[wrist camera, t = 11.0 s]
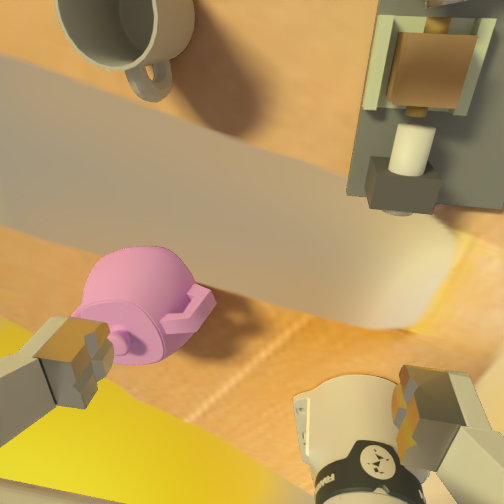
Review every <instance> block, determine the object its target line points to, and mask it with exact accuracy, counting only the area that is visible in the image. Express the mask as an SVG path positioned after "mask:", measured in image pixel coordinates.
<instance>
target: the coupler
mask: <svg viewBox="0 0 504 504" xmlns="http://www.w3.org/2000/svg"><path fill="white" fill-rule="evenodd" d="M450 22H451V17H427V19H426V23H425V28H424V32H423V33H410V32H398V36H397V41H396V46H395V51H394V56H393V61H392V66H391V71H390V76H389V81H388V86H387V91H386V97H387V98H388V99H389V100H390V101H391V103H392V104H393V105H401V106H406V110H405V115H407V116H411V117H426V114H427V110H428V107H433V108H450V109H457V105H458V102H459V99H460V95H461V92H462V89H463V85H464V82H465V78H466V75H467V72H468V68H469V65H470V62H471V58H472V55H473V52H474V48H475V45H476V41H477V38H478V36H476V35H460V34H447V33H448V29H449V25H450Z"/></svg>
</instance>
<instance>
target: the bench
mask: <svg viewBox="0 0 504 504" xmlns="http://www.w3.org/2000/svg"><path fill="white" fill-rule="evenodd" d="M427 17H451V22H450V25H449V29H448V33H447V34H460V35H476V36H478V38H477V41H476V45H475V48H474V52H473V55H472V58H471V62H470V65H469V68H468V72H467V75H466V78H465V82H464V85H463V89H462V92H461V95H460V99H459V102H458V105H457V109H450V108H433V107H428V110H427V114H426V117H411V116H407V115H405V110H406V106H401V105H393V104H392V103H391V101H390V100H389V99H388V98H387V97H386V91H387V86H388V81H389V76H390V71H391V66H392V61H393V56H394V51H395V46H396V41H397V36H398V32H410V33H423V32H424V28H425V23H426V19H427ZM346 194H347V195H348V196H359V197H367V199H368V204H369V208H370V209H379V210H382V211H384V212H385V213H388V214H391V215H395V216H409V215H411V214H412V213H422V214H431V215H432V213H433V210H434V206H435V204H445V205H456V206H467V207H478V208H489V209H500V210H501V208H502V206H503V203H504V0H467V1H462V2H457V3H452V4H447V5H442V6H437V7H432V8H426V9H425V0H379V2H378V8H377V13H376V19H375V25H374V31H373V37H372V43H371V48H370V54H369V60H368V66H367V72H366V78H365V83H364V89H363V95H362V101H361V107H360V113H359V118H358V124H357V130H356V136H355V142H354V148H353V153H352V159H351V165H350V171H349V177H348V183H347V188H346Z"/></svg>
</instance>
